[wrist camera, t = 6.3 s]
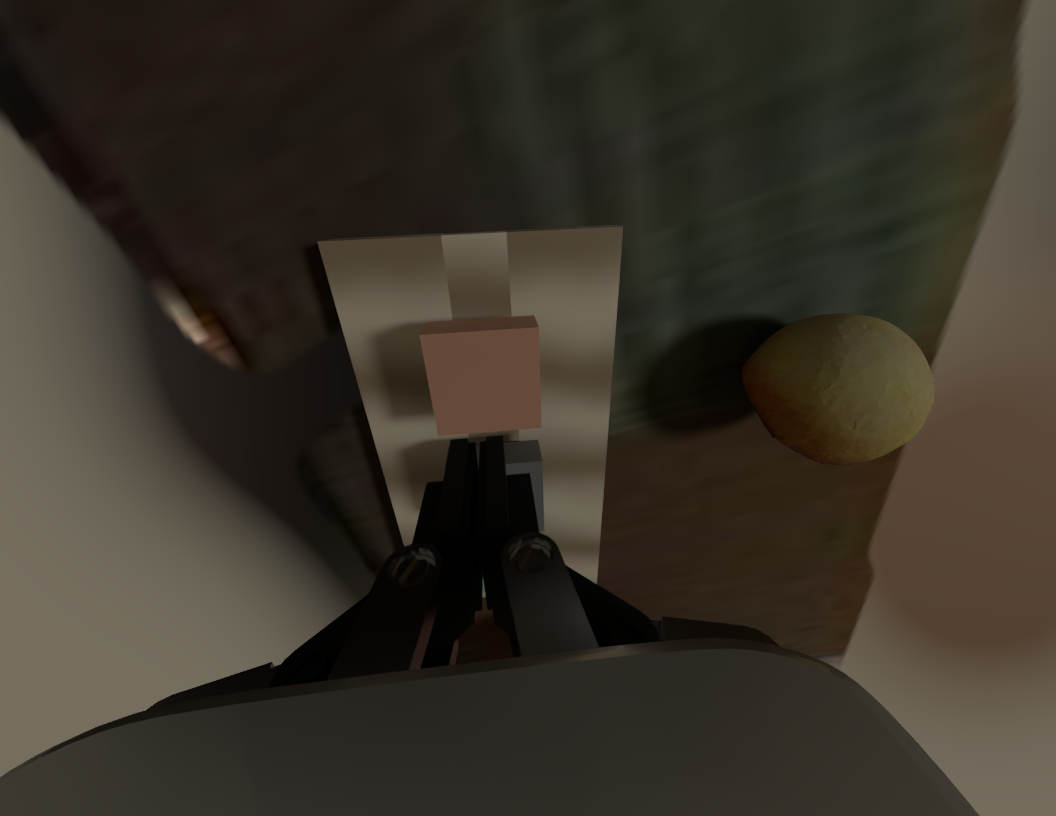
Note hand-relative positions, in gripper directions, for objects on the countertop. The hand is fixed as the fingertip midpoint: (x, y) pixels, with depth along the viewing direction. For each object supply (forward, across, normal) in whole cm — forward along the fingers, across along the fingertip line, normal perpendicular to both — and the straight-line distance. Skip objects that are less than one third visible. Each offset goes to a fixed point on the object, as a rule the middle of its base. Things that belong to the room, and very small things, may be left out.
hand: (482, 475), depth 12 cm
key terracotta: (+9, 0, -1) cm, 9 cm away
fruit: (+11, -18, +1) cm, 21 cm away
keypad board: (+11, 0, +6) cm, 12 cm away
